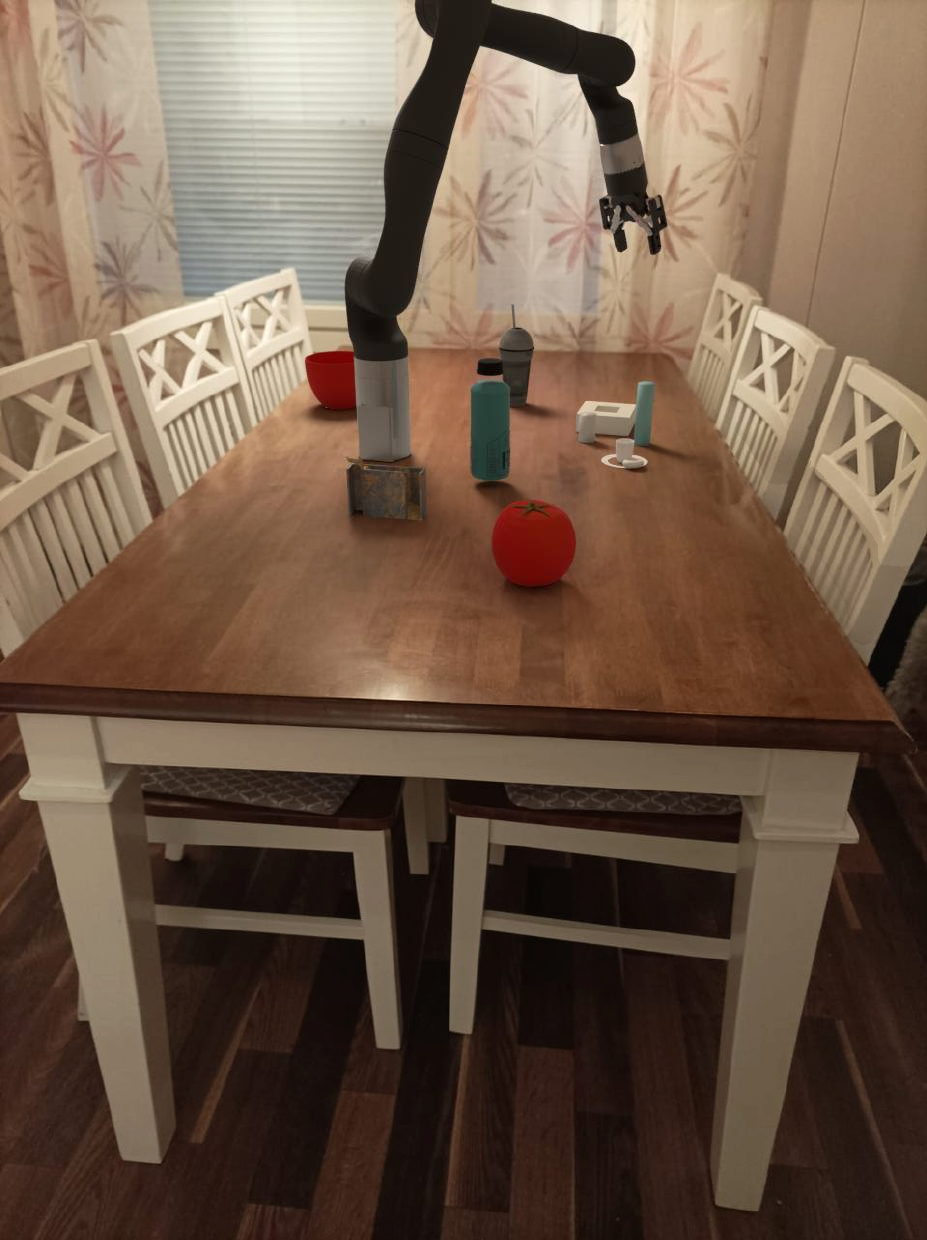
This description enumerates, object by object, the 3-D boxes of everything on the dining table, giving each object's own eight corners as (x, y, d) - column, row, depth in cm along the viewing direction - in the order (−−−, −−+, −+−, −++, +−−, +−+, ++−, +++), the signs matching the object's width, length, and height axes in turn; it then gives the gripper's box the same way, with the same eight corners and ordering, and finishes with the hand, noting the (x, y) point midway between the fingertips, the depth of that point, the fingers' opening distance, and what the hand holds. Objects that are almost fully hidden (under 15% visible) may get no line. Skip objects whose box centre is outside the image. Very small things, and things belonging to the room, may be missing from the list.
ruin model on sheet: (348, 518, 144) (344, 456, 140) (354, 511, 147) (350, 449, 142) (421, 524, 142) (420, 460, 138) (426, 516, 145) (425, 454, 140)
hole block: (628, 436, 180) (629, 417, 179) (575, 431, 183) (576, 413, 181) (635, 422, 189) (636, 404, 187) (584, 418, 191) (585, 400, 190)
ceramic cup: (386, 414, 195) (384, 364, 190) (303, 414, 195) (299, 364, 190) (392, 398, 206) (390, 350, 201) (313, 397, 206) (310, 350, 202)
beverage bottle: (506, 491, 153) (508, 364, 144) (465, 488, 155) (465, 362, 145) (512, 478, 159) (515, 355, 150) (473, 475, 160) (473, 353, 151)
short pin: (593, 443, 176) (594, 416, 174) (577, 442, 177) (578, 415, 175) (595, 439, 179) (597, 412, 176) (580, 437, 180) (581, 411, 177)
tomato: (522, 557, 130) (524, 481, 125) (588, 578, 124) (593, 499, 119) (473, 583, 123) (473, 503, 118) (541, 606, 117) (544, 523, 112)
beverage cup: (519, 410, 197) (522, 309, 188) (491, 404, 201) (492, 305, 192) (539, 403, 202) (542, 304, 193) (510, 397, 206) (512, 300, 197)
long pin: (648, 446, 174) (654, 386, 169) (632, 445, 175) (637, 384, 170) (650, 441, 177) (656, 382, 172) (634, 440, 178) (639, 381, 173)
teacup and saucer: (646, 473, 162) (648, 450, 160) (599, 470, 164) (600, 447, 162) (648, 458, 170) (650, 435, 168) (602, 455, 171) (604, 433, 169)
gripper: (581, 172, 177) (599, 258, 187) (638, 171, 167) (654, 262, 177) (609, 156, 180) (625, 242, 190) (667, 155, 170) (680, 245, 179)
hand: (639, 252), depth 183 cm, fingers open, 8 cm apart
